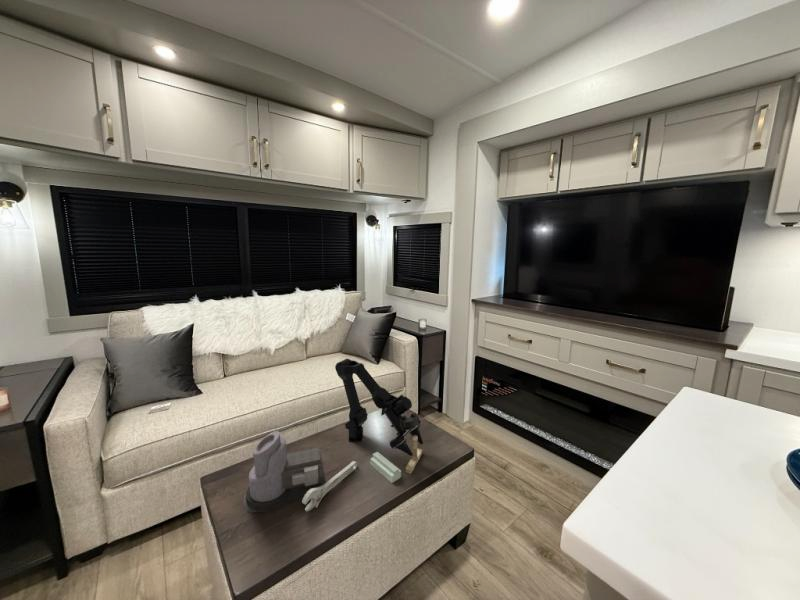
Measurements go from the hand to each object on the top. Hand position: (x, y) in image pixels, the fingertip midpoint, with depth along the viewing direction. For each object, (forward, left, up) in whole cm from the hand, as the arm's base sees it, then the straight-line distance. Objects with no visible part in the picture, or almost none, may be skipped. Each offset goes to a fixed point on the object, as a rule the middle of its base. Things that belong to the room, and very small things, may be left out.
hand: (417, 449), depth 135 cm
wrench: (-35, -11, -7) cm, 37 cm away
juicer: (-53, -10, -7) cm, 54 cm away
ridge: (-14, -3, -7) cm, 16 cm away
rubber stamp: (-1, +1, -7) cm, 7 cm away
